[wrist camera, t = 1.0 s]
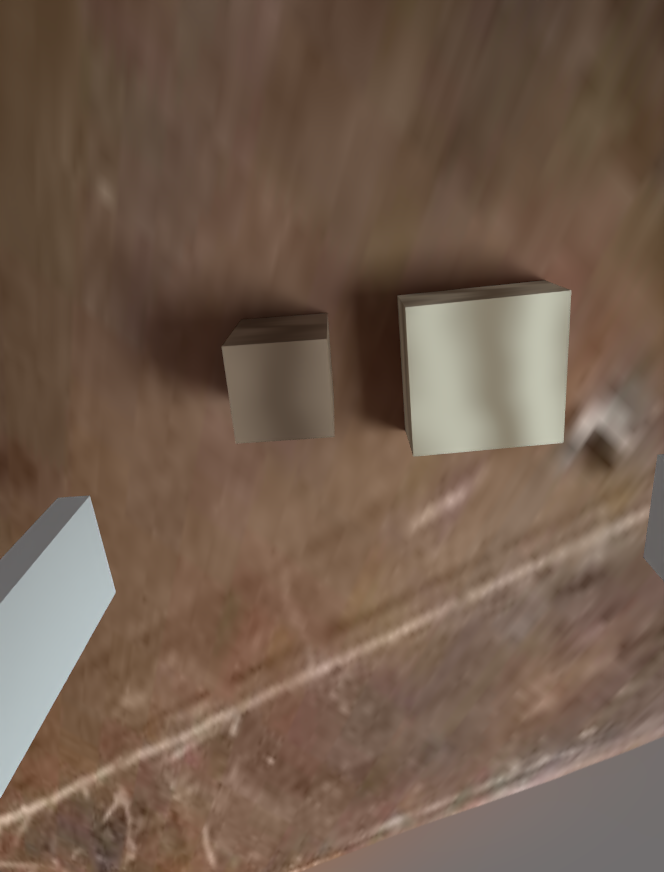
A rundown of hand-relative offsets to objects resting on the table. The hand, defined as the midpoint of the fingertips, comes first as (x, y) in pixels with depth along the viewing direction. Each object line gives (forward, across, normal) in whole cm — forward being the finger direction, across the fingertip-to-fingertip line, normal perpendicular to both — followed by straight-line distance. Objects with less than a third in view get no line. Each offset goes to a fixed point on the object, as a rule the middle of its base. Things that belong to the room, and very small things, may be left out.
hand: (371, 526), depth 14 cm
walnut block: (+29, -4, -3) cm, 29 cm away
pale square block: (+29, +8, -4) cm, 31 cm away
